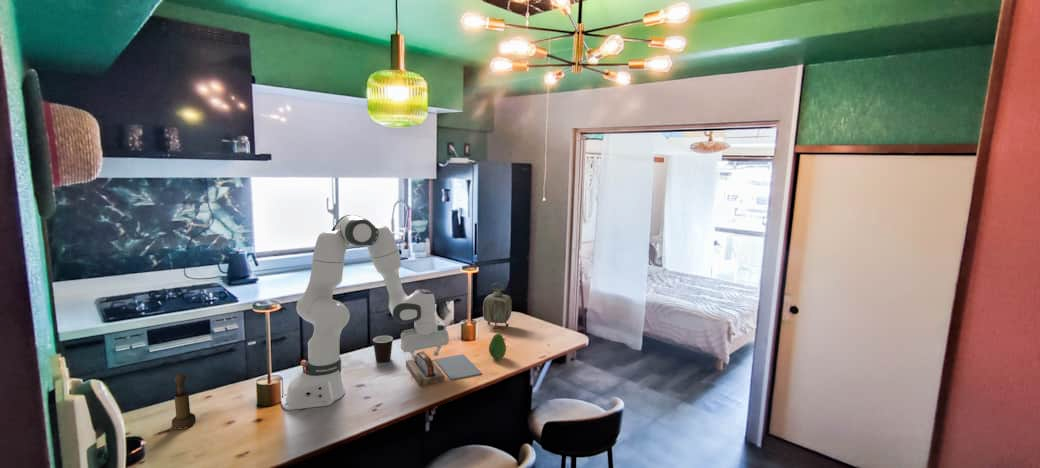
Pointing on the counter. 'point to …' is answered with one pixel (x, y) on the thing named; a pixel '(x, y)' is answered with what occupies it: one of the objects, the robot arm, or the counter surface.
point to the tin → (425, 364)
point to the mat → (457, 367)
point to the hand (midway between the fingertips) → (425, 357)
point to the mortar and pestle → (182, 406)
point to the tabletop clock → (497, 307)
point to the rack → (420, 376)
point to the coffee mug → (383, 348)
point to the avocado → (497, 347)
